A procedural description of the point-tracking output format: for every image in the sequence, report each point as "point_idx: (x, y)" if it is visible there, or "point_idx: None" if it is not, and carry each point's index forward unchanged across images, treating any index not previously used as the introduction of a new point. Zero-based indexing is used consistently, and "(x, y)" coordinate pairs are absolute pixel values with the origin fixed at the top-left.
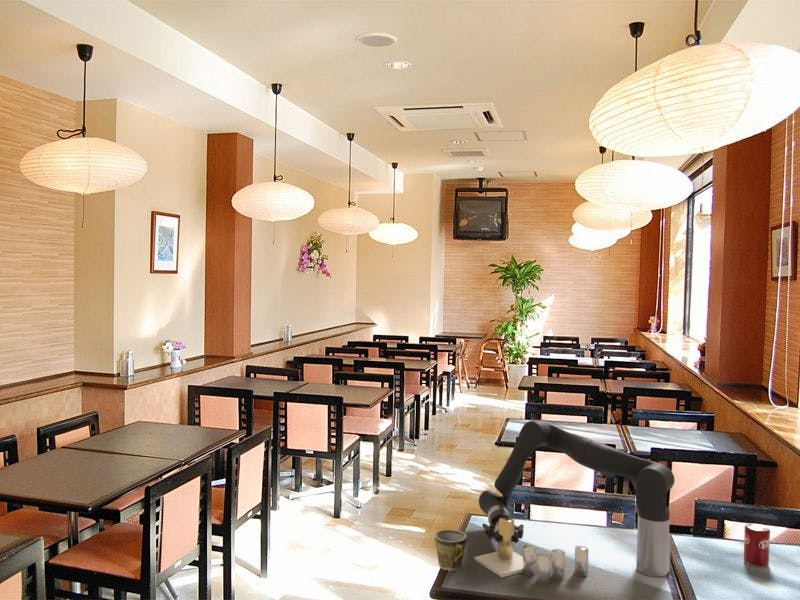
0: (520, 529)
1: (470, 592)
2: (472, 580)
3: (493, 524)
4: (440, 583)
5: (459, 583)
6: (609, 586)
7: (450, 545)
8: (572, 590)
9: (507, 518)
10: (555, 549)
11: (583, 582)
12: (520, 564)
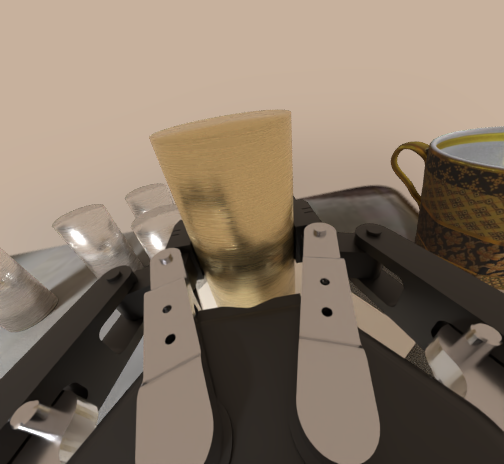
0: (99, 294)
1: (328, 194)
2: (342, 222)
3: (438, 414)
4: (406, 200)
5: (365, 208)
6: (34, 267)
7: (458, 146)
8: (130, 238)
9: (202, 131)
10: (71, 224)
11: (76, 270)
12: (206, 305)
